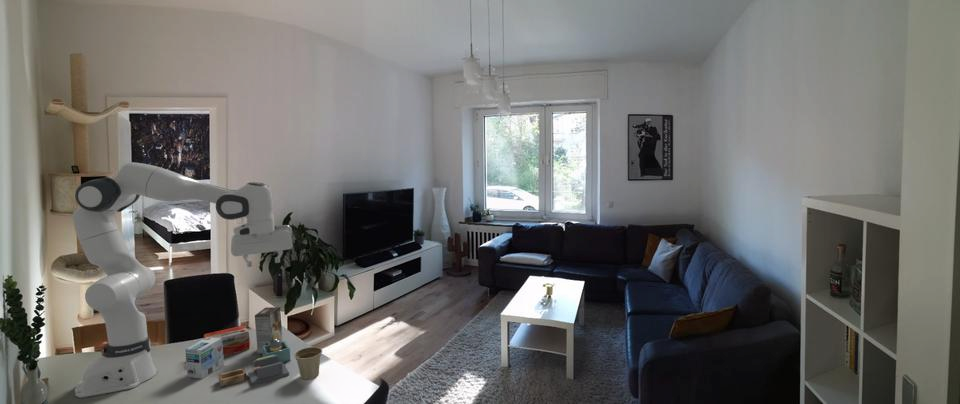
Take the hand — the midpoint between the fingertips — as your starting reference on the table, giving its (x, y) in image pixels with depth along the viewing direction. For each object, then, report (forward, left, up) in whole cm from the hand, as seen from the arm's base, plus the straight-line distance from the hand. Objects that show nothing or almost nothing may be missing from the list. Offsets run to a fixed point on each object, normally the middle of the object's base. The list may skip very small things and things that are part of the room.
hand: (263, 264), depth 165 cm
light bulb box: (-20, +10, -39) cm, 45 cm away
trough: (-13, -4, -39) cm, 41 cm away
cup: (+3, +4, -39) cm, 39 cm away
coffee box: (+3, +16, -39) cm, 43 cm away
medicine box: (-12, +24, -40) cm, 48 cm away
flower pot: (+10, -16, -39) cm, 44 cm away
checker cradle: (-2, -7, -39) cm, 40 cm away
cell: (+3, +4, -38) cm, 39 cm away
